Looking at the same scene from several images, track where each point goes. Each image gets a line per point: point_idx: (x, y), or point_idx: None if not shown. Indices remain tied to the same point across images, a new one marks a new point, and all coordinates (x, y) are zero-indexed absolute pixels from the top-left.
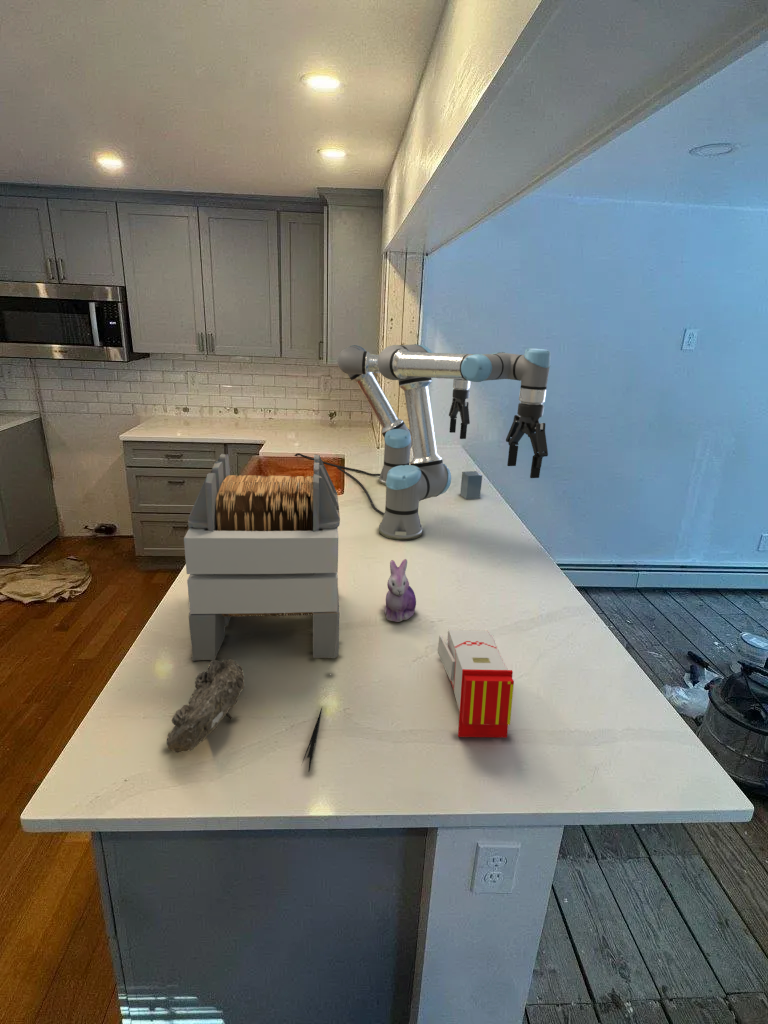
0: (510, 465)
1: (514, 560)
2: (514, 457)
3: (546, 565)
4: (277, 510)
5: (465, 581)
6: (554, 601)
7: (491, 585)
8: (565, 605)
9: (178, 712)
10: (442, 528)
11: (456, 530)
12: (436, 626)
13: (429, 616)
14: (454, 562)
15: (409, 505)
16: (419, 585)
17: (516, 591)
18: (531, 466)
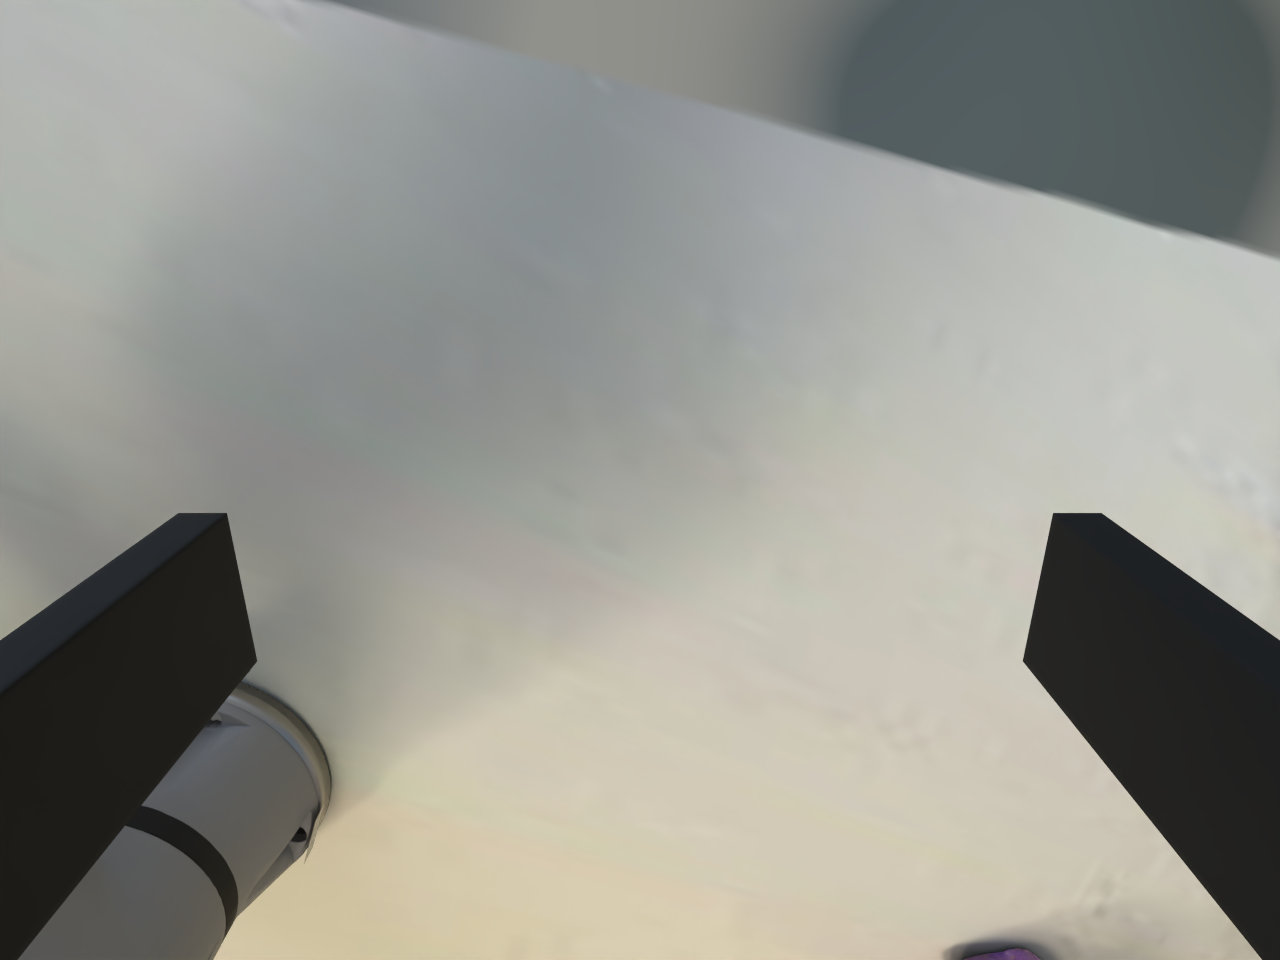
0: (241, 629)
1: (699, 325)
2: (130, 666)
3: (824, 150)
4: None
5: (854, 690)
6: (1212, 384)
7: (935, 598)
8: (1274, 351)
9: None
10: (145, 536)
11: (180, 465)
12: (1134, 910)
13: (1063, 908)
14: (642, 657)
15: (200, 934)
16: (823, 867)
17: (1038, 514)
18: (1148, 814)
